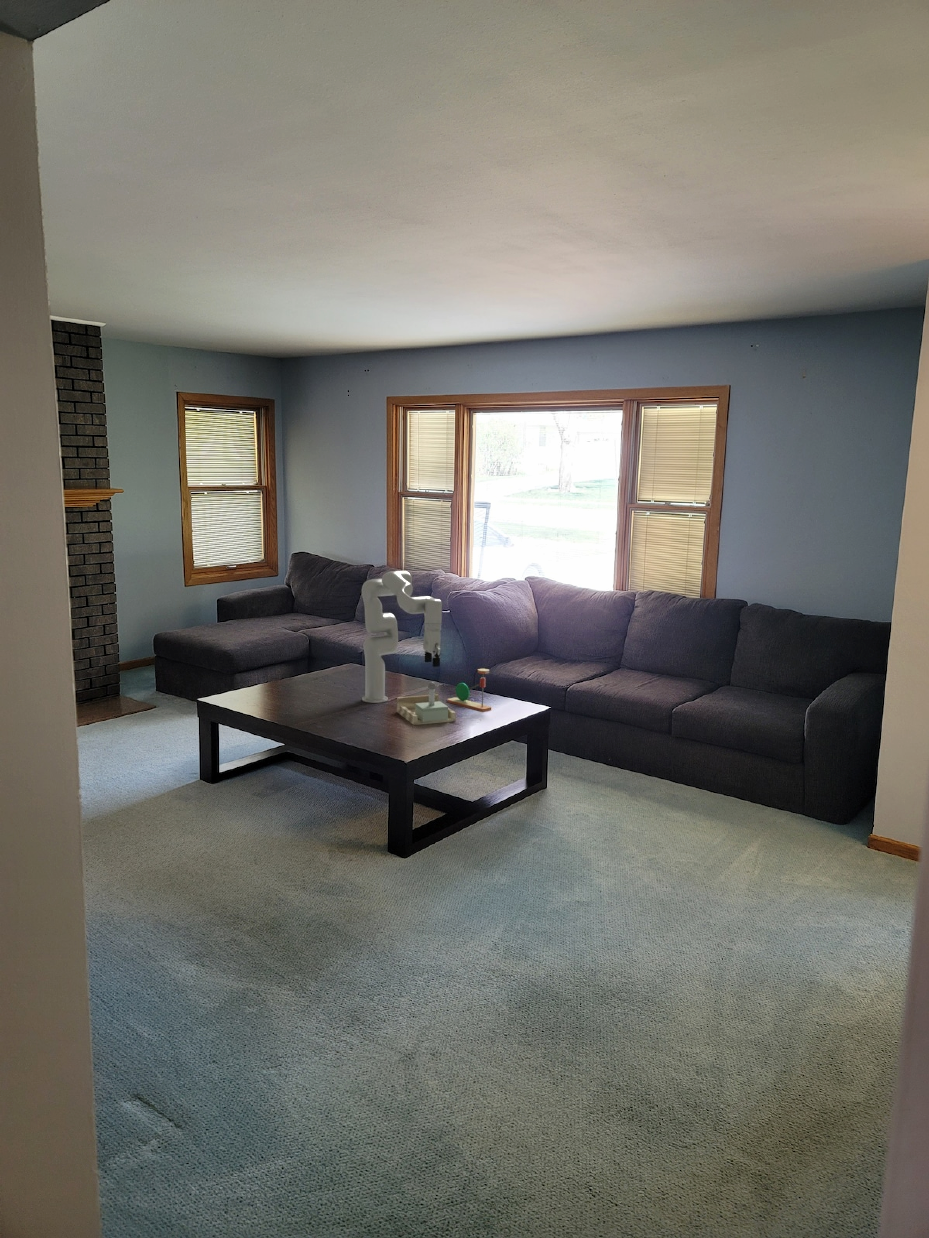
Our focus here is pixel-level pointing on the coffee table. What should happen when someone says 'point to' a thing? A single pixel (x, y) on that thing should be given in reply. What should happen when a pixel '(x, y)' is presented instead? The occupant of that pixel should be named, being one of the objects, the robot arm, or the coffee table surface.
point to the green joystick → (431, 708)
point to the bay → (408, 709)
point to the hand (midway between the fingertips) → (432, 664)
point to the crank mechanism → (463, 694)
